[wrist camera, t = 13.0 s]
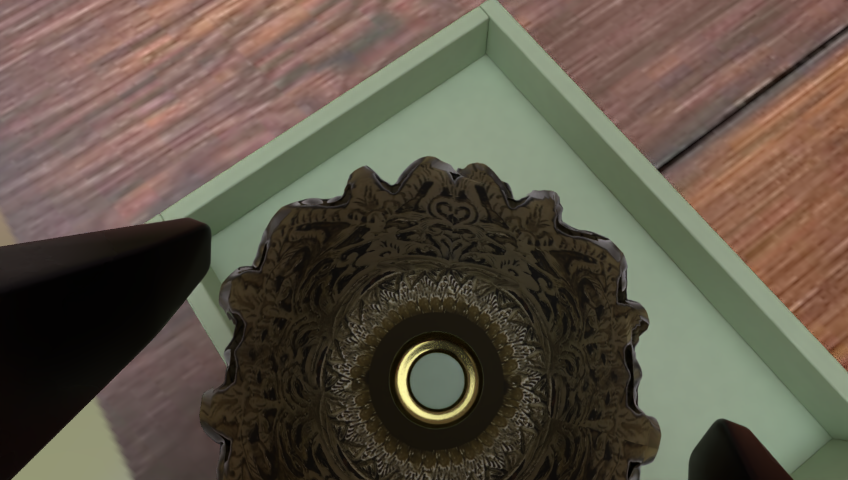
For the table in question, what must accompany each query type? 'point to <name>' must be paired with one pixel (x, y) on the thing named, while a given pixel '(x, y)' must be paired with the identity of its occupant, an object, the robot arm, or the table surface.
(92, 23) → the table surface
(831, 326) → the table surface
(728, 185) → the table surface
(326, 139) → the tray
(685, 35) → the table surface
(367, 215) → the ornate lamp shade
